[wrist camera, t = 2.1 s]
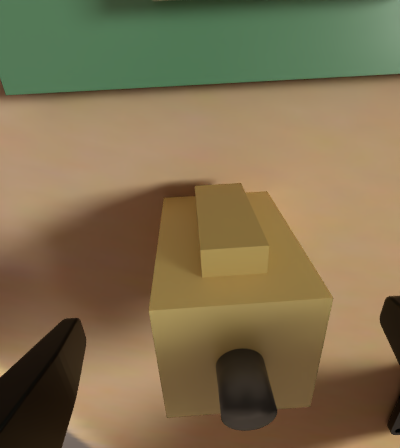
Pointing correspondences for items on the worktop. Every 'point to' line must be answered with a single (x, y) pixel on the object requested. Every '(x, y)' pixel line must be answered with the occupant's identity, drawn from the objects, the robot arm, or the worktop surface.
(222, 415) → the plug
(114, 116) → the worktop surface
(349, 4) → the board
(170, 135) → the worktop surface
